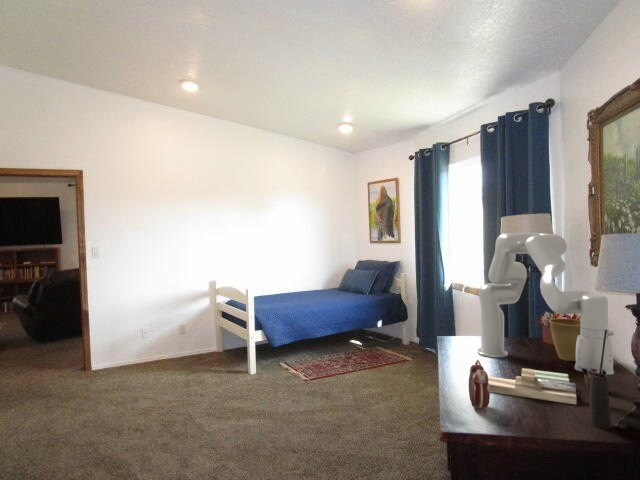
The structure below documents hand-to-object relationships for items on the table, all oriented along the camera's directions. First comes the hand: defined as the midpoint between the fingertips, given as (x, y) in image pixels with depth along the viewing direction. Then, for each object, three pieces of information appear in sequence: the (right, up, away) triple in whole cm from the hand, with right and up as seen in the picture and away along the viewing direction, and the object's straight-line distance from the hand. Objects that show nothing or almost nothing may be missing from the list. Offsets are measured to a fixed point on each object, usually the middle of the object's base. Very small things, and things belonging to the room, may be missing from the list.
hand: (593, 389), depth 140 cm
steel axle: (-12, -2, +6) cm, 13 cm away
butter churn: (-8, -5, -14) cm, 17 cm away
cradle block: (-7, -4, +13) cm, 16 cm away
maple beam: (-17, -4, +9) cm, 20 cm away
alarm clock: (-38, -5, -3) cm, 39 cm away
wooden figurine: (+8, -4, +11) cm, 14 cm away
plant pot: (+18, -3, +46) cm, 50 cm away
